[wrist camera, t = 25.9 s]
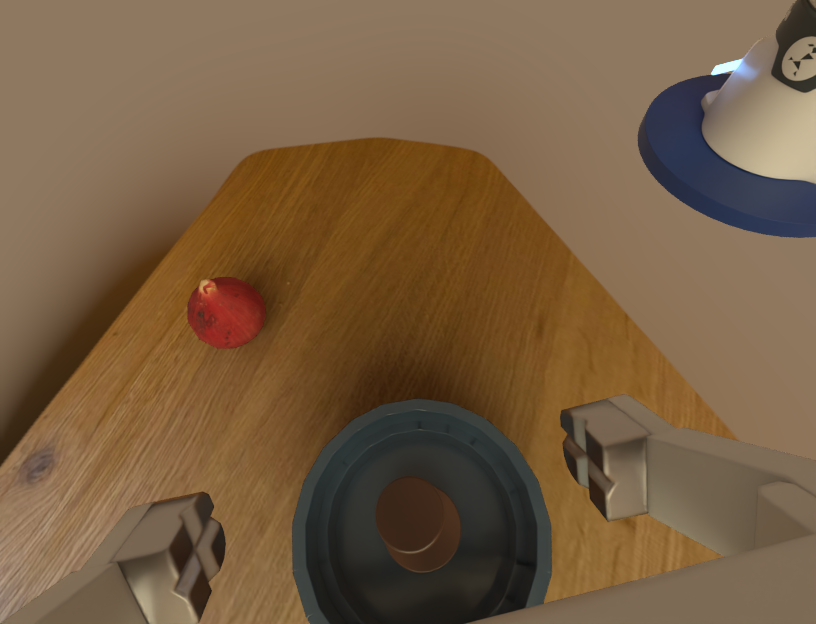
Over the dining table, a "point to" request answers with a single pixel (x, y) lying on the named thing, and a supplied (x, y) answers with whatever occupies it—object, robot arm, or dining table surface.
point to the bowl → (456, 476)
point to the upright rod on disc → (418, 524)
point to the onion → (226, 312)
